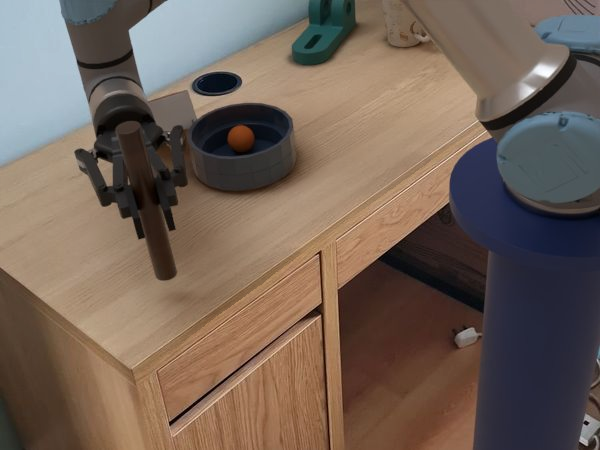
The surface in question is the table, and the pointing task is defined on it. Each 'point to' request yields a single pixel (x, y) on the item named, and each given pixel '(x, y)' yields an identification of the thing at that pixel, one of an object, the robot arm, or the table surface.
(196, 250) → the table surface
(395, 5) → the mug
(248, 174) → the bowl
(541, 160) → the robot arm
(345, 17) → the bracket
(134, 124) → the stick
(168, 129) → the small box
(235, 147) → the ball
